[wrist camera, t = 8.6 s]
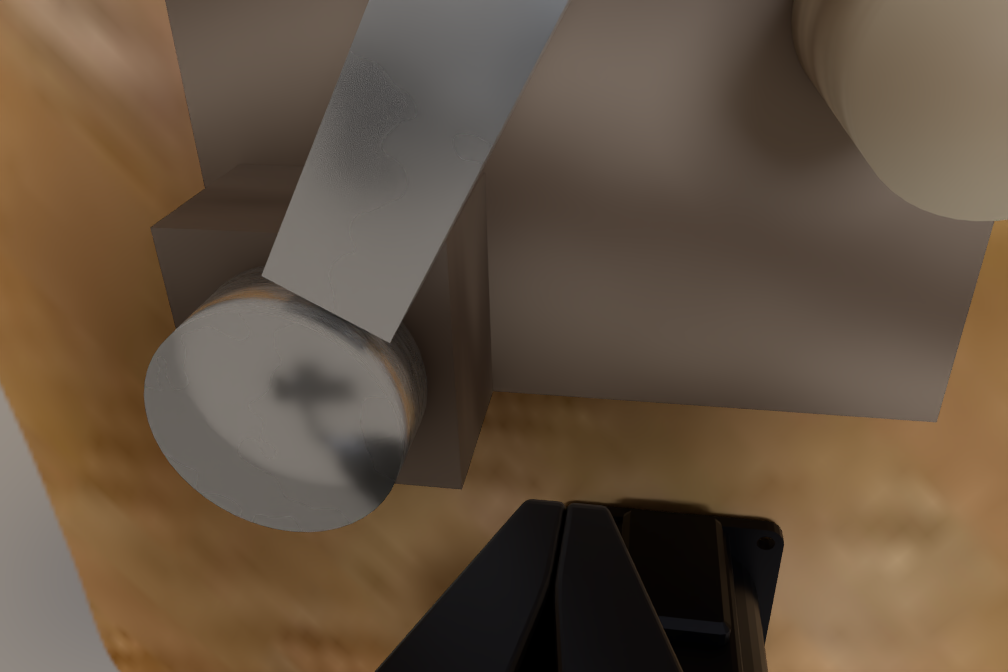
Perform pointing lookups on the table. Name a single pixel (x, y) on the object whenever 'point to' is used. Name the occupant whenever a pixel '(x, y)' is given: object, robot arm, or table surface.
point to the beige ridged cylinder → (917, 94)
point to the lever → (346, 274)
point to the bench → (605, 220)
